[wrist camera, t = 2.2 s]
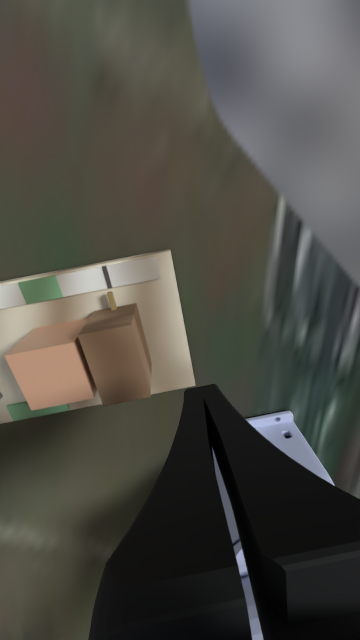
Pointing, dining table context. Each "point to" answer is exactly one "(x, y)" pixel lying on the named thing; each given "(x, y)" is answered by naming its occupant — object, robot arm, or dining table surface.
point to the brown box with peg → (117, 353)
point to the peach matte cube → (52, 366)
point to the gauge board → (80, 302)
